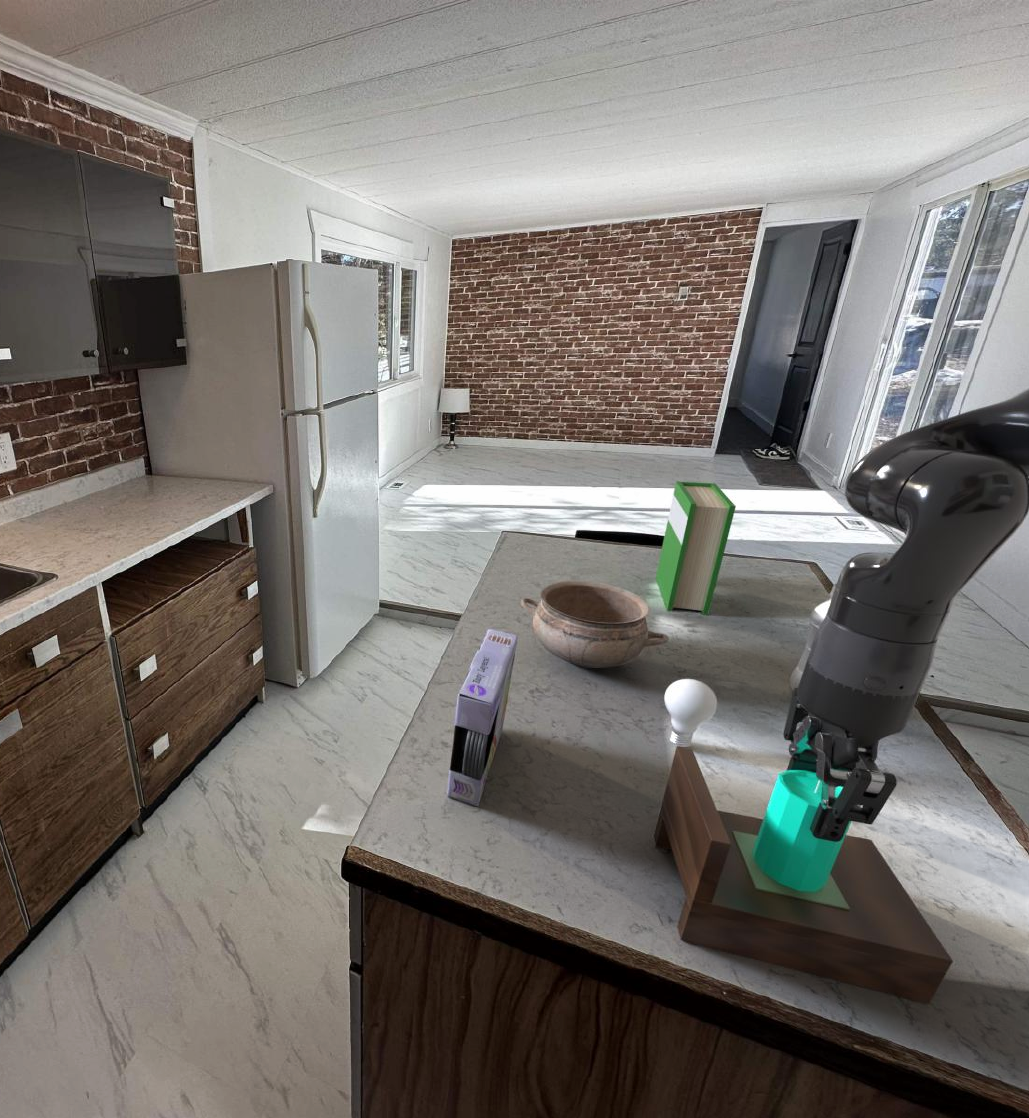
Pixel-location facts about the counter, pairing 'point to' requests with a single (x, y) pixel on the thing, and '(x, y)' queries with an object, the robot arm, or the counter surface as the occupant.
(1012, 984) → the counter surface
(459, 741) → the cake pan box
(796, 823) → the candle
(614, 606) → the cooking pot
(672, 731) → the lightbulb
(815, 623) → the plastic bottle
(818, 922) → the shelf
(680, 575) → the hardback book
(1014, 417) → the robot arm
